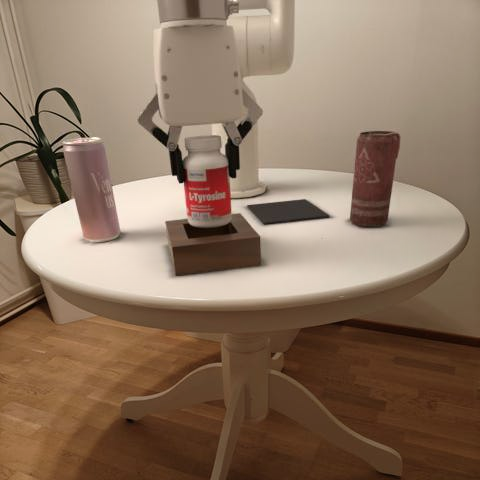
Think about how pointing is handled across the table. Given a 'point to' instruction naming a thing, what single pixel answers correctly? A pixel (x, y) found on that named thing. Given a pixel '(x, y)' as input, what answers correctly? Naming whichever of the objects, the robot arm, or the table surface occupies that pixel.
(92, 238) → the beverage can
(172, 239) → the holder
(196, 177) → the pill bottle
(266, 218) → the coaster
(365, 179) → the can
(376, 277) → the table surface
